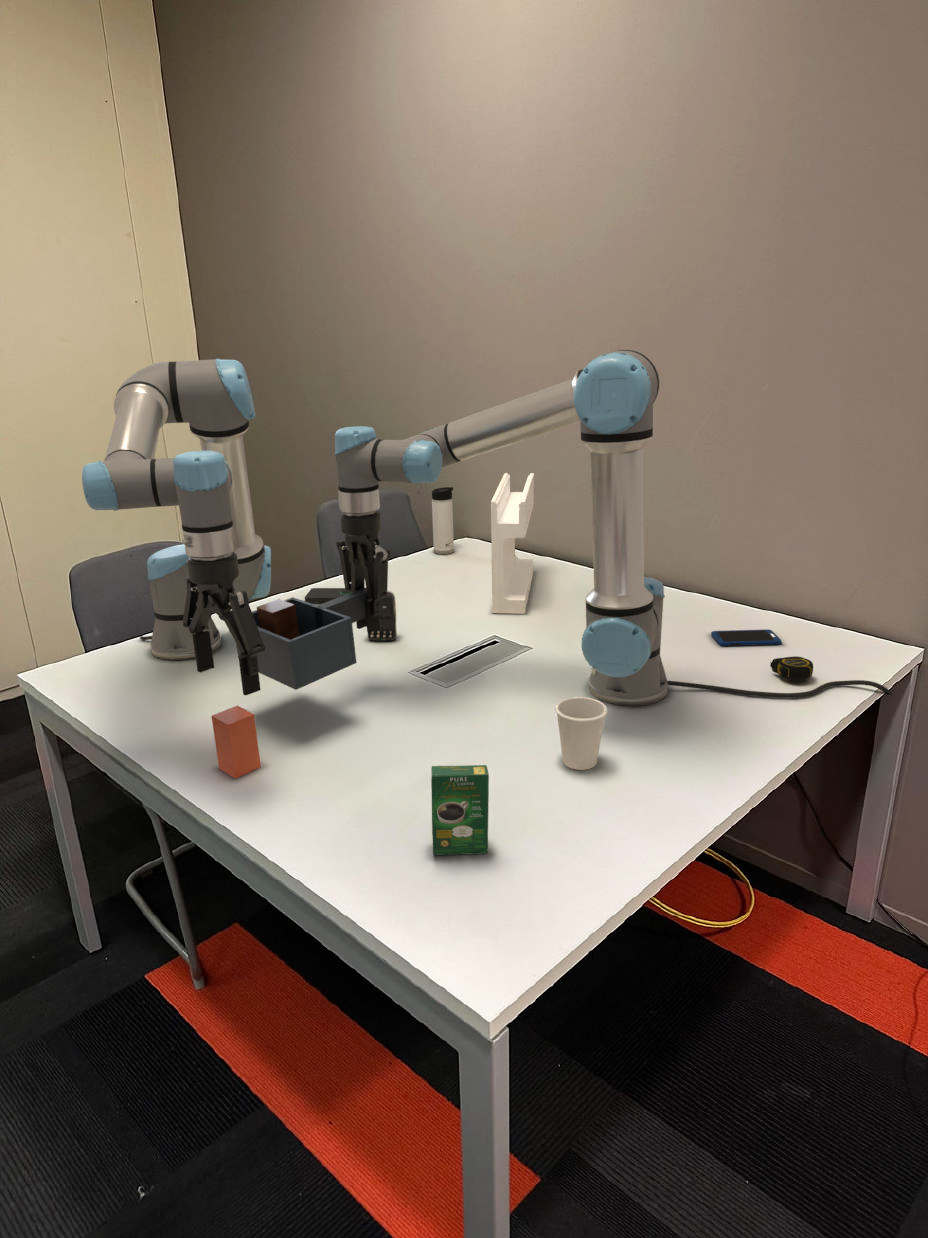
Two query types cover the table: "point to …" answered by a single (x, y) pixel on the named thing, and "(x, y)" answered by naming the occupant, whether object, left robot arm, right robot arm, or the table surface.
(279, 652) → the tote
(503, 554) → the white stand
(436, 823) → the coffee box
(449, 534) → the travel mug
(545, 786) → the table surface
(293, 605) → the walnut block
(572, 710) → the dixie cup
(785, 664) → the tape measure
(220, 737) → the terracotta block
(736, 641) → the cell phone
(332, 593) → the smart home device
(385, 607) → the battery charger
